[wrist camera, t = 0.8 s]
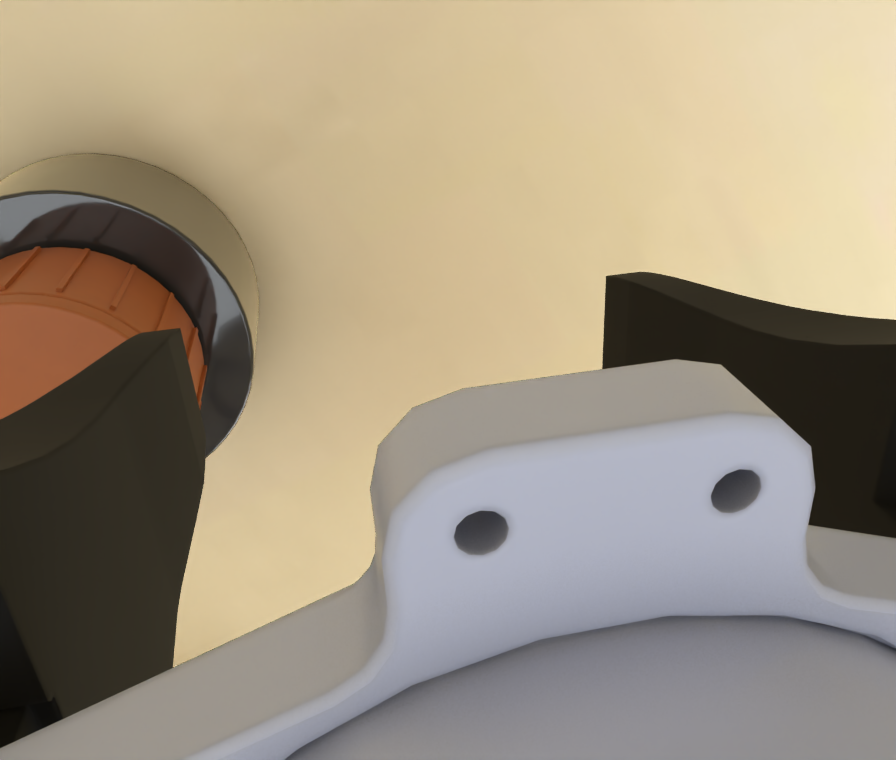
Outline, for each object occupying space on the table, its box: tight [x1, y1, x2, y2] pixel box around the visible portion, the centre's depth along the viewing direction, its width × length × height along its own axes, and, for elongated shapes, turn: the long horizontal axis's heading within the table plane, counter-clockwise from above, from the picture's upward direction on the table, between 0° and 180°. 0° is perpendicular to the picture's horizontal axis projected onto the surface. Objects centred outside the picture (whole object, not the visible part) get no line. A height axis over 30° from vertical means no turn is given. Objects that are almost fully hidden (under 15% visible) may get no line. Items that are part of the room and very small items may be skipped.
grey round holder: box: [0, 154, 259, 458], centre depth 19 cm, size 8×8×7 cm
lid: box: [0, 246, 207, 419], centre depth 17 cm, size 6×6×3 cm
